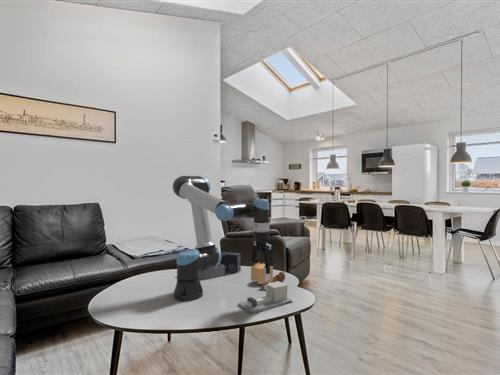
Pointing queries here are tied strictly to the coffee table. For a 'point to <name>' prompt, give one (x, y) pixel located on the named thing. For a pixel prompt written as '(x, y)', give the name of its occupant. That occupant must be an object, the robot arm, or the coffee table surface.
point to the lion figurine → (277, 278)
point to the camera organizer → (212, 272)
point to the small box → (231, 261)
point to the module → (260, 273)
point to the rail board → (263, 306)
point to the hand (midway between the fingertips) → (262, 278)
